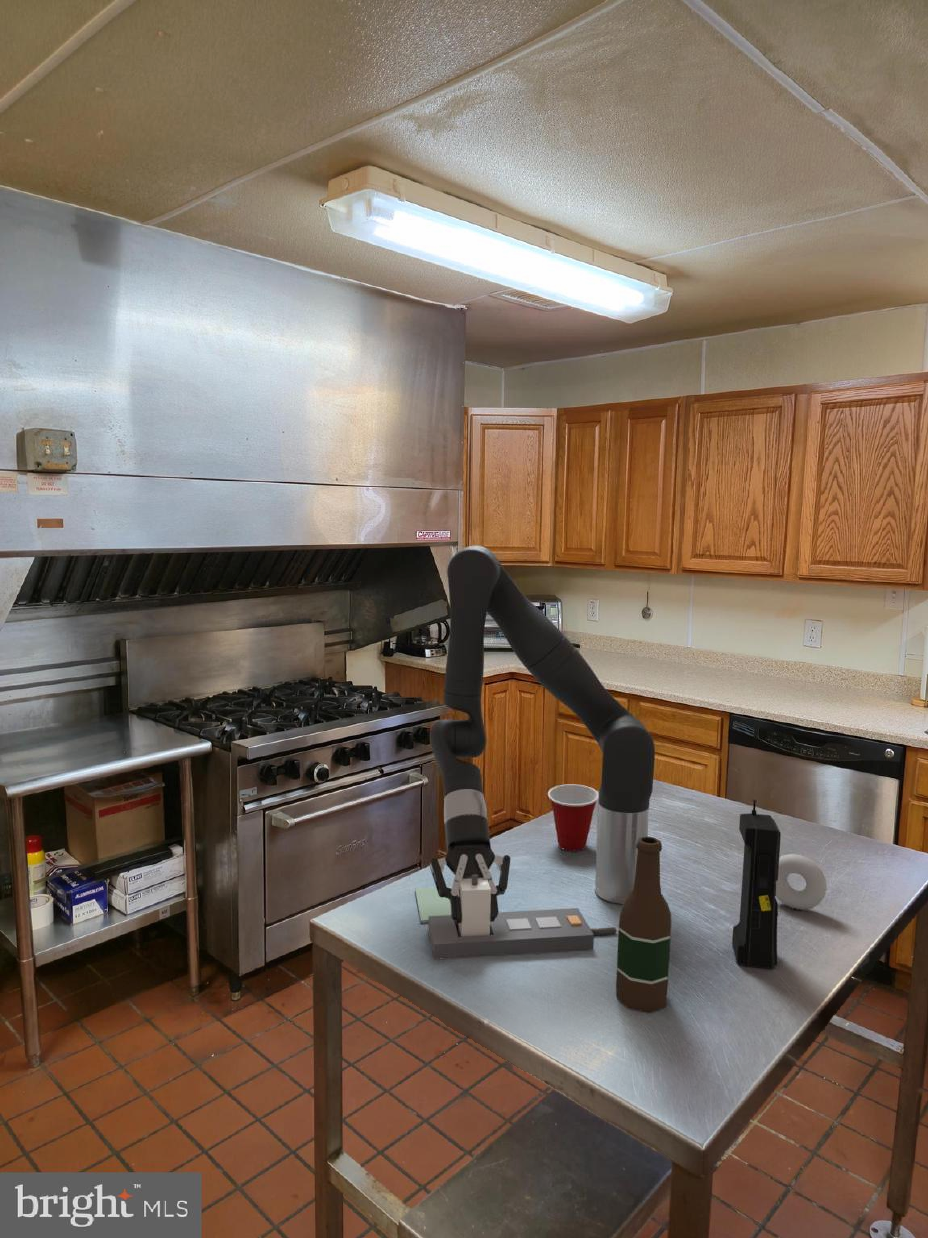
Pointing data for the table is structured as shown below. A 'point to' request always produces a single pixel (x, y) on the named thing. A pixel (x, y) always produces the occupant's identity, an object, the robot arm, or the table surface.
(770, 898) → the portable radio
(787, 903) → the donut
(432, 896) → the mat
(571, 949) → the power strip
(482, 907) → the block
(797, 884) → the table surface
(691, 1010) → the table surface
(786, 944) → the table surface
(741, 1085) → the table surface
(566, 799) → the plastic cup
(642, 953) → the beer bottle
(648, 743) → the robot arm
